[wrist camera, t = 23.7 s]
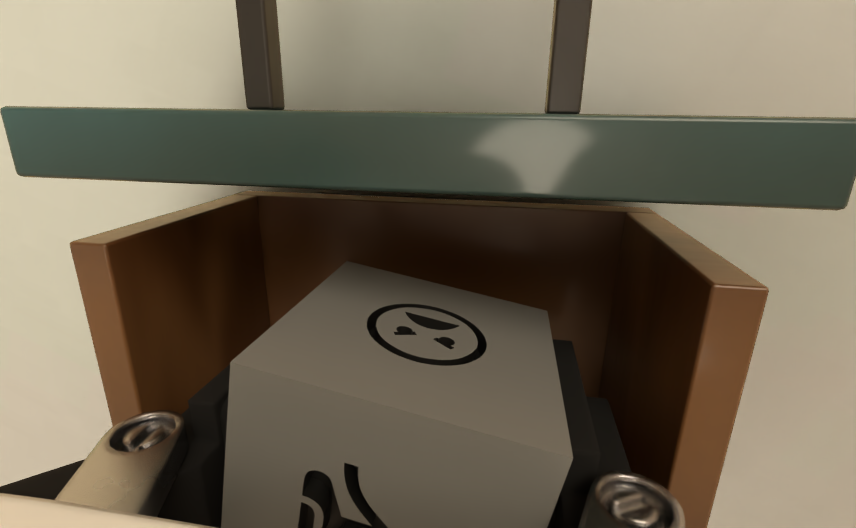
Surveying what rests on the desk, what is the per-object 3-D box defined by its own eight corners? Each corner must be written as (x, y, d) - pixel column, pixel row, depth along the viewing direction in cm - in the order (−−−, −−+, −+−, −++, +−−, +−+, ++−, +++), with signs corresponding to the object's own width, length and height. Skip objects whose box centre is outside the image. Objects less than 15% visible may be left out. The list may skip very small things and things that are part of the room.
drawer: (193, -160, 12) (-154, -462, 6) (743, -208, 10) (1142, -755, 4) (268, 485, 19) (146, 674, 12) (610, 536, 17) (672, 793, 10)
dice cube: (346, 261, 11) (230, 362, 7) (547, 310, 11) (573, 458, 6) (323, 424, 13) (217, 597, 8) (496, 474, 13) (486, 688, 8)
